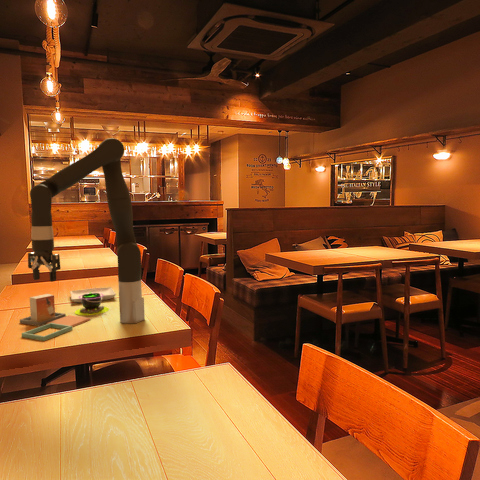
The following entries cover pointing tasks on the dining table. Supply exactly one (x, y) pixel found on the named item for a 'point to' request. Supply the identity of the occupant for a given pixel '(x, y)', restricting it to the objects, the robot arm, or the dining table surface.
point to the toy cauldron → (91, 304)
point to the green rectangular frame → (63, 329)
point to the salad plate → (106, 291)
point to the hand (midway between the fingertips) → (44, 280)
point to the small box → (42, 307)
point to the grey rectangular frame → (27, 321)
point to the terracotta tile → (70, 320)
